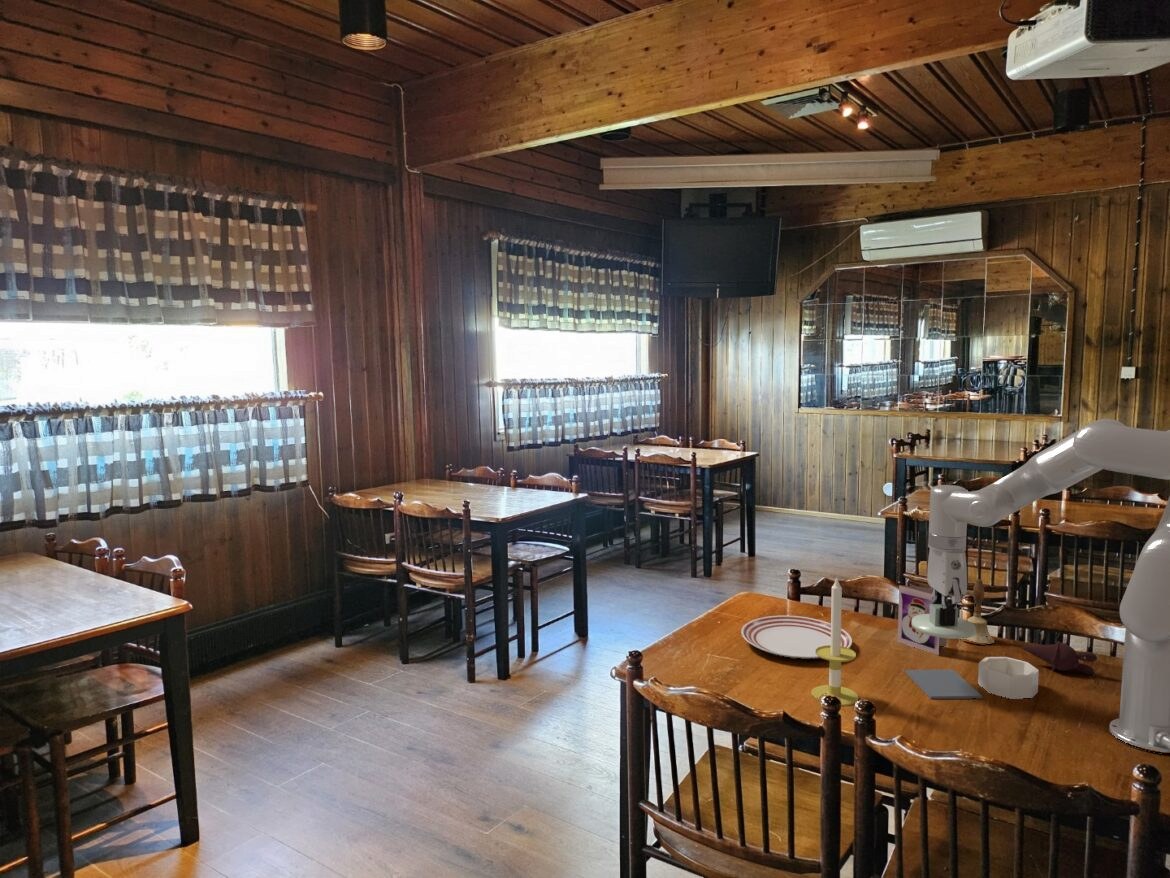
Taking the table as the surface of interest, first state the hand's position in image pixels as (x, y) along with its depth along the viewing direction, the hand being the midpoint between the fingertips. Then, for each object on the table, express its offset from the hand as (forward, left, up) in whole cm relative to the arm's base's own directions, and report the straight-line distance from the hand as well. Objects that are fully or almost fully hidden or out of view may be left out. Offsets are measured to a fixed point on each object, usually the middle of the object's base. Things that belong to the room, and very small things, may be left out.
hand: (943, 621), depth 174 cm
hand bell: (+27, -21, -15) cm, 37 cm away
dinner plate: (+25, +26, -15) cm, 39 cm away
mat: (0, 0, -15) cm, 15 cm away
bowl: (-2, -14, -15) cm, 20 cm away
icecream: (+8, -30, -15) cm, 35 cm away
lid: (0, 0, -2) cm, 2 cm away
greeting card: (+23, -6, -15) cm, 28 cm away
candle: (-5, +25, -15) cm, 30 cm away
